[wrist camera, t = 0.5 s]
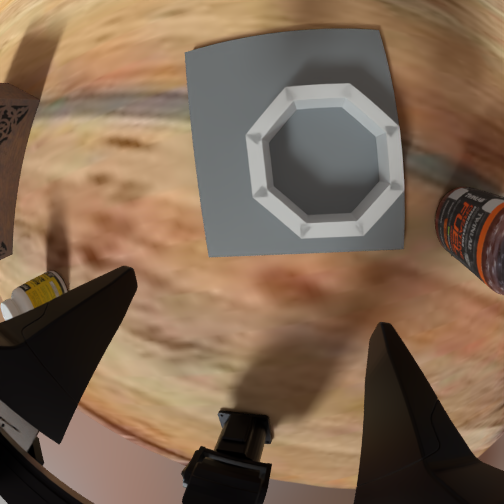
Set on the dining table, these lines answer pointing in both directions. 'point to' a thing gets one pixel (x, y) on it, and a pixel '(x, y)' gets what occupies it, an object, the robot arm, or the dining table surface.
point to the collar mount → (297, 143)
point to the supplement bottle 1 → (33, 294)
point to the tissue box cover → (12, 154)
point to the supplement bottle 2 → (474, 232)
